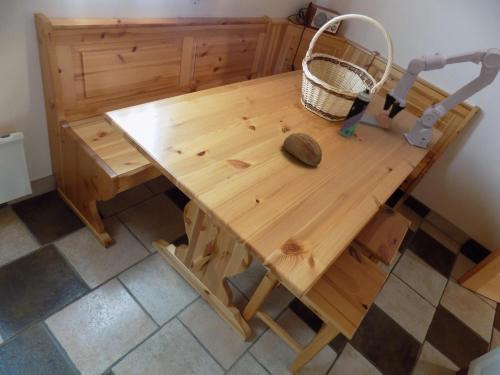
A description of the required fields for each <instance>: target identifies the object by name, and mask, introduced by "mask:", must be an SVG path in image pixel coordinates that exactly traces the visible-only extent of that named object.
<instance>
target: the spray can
mask: <svg viewBox="0 0 500 375" xmlns="http://www.w3.org/2000/svg"><path fill="white" fill-rule="evenodd" d="M370 91H371V90H370V89H369V88H367V87H366V88H365V89H364V90H363V91H358V93H357V95H356V96H355V98H354V100H353V103H352V104H351V106H350V109H349V111H348V112H347V115H346V116H345V119H344V120H343V123H342V124H341V127H340V129H339V135H341V136H342V137H344V138H348V139H349V138H352V136H353V135H354V132H355V131H356V128H357V127H358V125H359V124H360V123H359V122H360V120H361V118H362V116H363V114H364V113H366V110H367V108H368V107H369V105H370V103H371V102H372V96H371V92H370Z"/></svg>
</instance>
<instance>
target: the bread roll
mask: <svg viewBox="0 0 500 375" xmlns="http://www.w3.org/2000/svg"><path fill="white" fill-rule="evenodd" d="M282 145H283V148H284V150H285V151H286V152H288V153H289V154H290V155H292V156H293V157H295V158H297V159H298V160H299V161H301V162H302V163H305V164H306V165H309V166H311V167H312V166H313V167H314V166H315V167H316V166H319V165H321V164H320V163H321V162H322V158H323V151H322V148H321V146H320V144H319V143H318V142H317V140H316V139H315V138H313V137H312V136H310V135H309V134H307V133H303V132H302V133H301V132H293V133H290V134H289V135H288V136H287V137H286V138H285V139H284V141H283V144H282Z"/></svg>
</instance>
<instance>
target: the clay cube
mask: <svg viewBox="0 0 500 375" xmlns="http://www.w3.org/2000/svg"><path fill="white" fill-rule="evenodd" d="M388 116H389V113H385V112H381V111H380V112H379V113H378V115H377V117H376V119H377V121H378V123H379V124H380V127H379V128H383V129H387V130H388V129H389V127H390V126H391V124H392V123H393V121H394V118H393V119H392V118H389V117H388Z"/></svg>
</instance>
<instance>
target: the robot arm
mask: <svg viewBox="0 0 500 375" xmlns="http://www.w3.org/2000/svg"><path fill="white" fill-rule="evenodd" d="M467 62H470V63H473V64H476V65H480V64H481V67H480V72H479V75H478V76H477V77H476V78H474V79H473V80H471V81H470V82H468V83H467V84H465V85H464V86H462V87H461V88H460V89H457V90H456V91H455V92H453V93H452V94H450V95H449V96H447V97H446V98H445V99H443V100H441V101H439V102H437V103H436V104H433V105H431V106H426V107H425V108H424V109H423V110H422V115H421V116H420V117H418V118H417V119H416V121H415V122H414V124H413V126H412V127H411V128H410V130H409V132H408V133H405V132H404V133H402V134H403V136H404V137H405V139H406V140H407V142H408V143H409V145H411V146H414V147H415V146H416V147H420V148H424V149H427V144H428V143H429V142H430V140H431V139H432V138H433V135H434V132H433V127H434V126H435V124H436V123H437V122H438V121H439V120H440V118H442V117H443V116H444V115H445V114H446V113H447V112H450V110H452V109H454V108H455V107H457V106H459V105H460V104H461V103H464V102H465V101H466V100H469V99H470V98H471V97H472V96H474V95H476V94H477V93H478V92H480V91H482V90H483V89H485V88H487V87H488V86H489V85H491V84H492V83H494V81H495V79H496V77H497V75H498V74H499V72H500V49H499V48H498V47H491V48H481V49H474V50H470V51H464V52H459V53H455V54H451V55H445V54H444V53H440V51H439V52H435V54H432V55H422V56H421V57H419V56H417V57H414V58H413V59H411V61H409V63H408V65H407V68H406V69H405V70H404V72H403V74H402V75H401V77H400V79H399V80H398V82H397V84H396V86H395V87H394V88H390V90H389V92H388V93H385V100H384V104H383V108H382V110H383V111H387V112H388V111H389V110H390V111H389V113H388V114H389V116H388V117H389V118H392V119H393V120H394V118H395V117H396V116H397V115H398V114H399V113H401V111H403V110H405V109H406V105H407V102H406V98H407V95H408V94H409V92H410V91H411V89H412V87H413V85H414V83H415V82H416V80H417V77H418V76H419V74H420V73H422V72H430V71H435V70H441V69H443V68H445V66H447V65H453V64H459V63H460V64H461V63H467ZM396 101H397V102H396Z"/></svg>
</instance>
